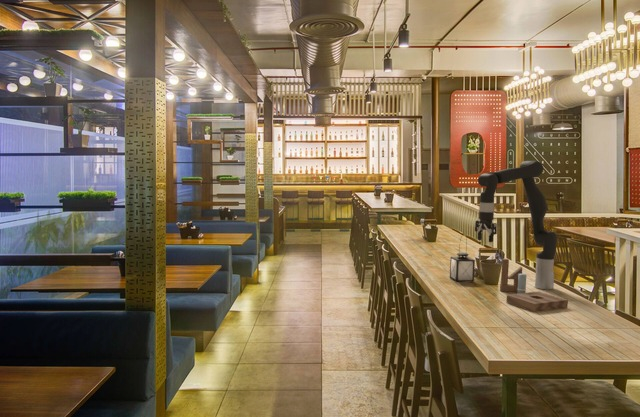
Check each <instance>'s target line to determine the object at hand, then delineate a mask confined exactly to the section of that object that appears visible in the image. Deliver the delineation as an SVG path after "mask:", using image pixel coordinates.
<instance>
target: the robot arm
mask: <svg viewBox="0 0 640 417" xmlns="http://www.w3.org/2000/svg"><path fill="white" fill-rule="evenodd" d="M543 172H544V166H543V163H542V162H540V161H538V160H524V161H522V162H521V163H520V164H519V167H511V168H504V169H501V170H500V169H499V170H498V171H491V172H484V173H482V174H480V175H479V176H478V178H477V183H478V185H479V186H481V187H483V188H484V187H485V189H484V190H483V191H481V192H480V195H479V196H480V197H479V205H478V206H479V208H478V219H479V220H475V224H474V232H476V233H477V240H478V241H481V240H482V238H483V231H486V232H487V233H488V242H489V243H492V242H493V243H494V236H495V235H497V233H498V231H497V229H498V223H497V222H493V220H494V219H495V218H494V217H495V216H494V215H495V214H494V213H495V194H496V191H497V187H498V185H499V184H504V183H508V182H512V181H516V180H520V179H521V180H522V183H523V187H524V190H525V193H526V198H527V204H528V209H529V212H530V218H531V223H532V232H533V238H534V239H533V240H534V242H535V244H536V245H537V246H541V247H543V248H542V251H538V252H537V253H536V258H535V260H536V261H535V263H536V264H535V279H534V287H535V288H536V289H539V290H552V289H554V288H555V286H554V285H555V272H554V266H555V265H554V261H555V256H556V254H557V247H558V246H557V245H558V236H557V234H556V233H555V232H554V231H551V230H545V229H546V228H545V227H544V226H545V225H544V219H545V216H546V214H547V210H548V206H547V199H546V197H545V195H544V193H543V192H542V190H541V189H540V188H539V187H538V185H537V183H536V182H535V178H538V177H540V176H541V175H542V173H543Z"/></svg>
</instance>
